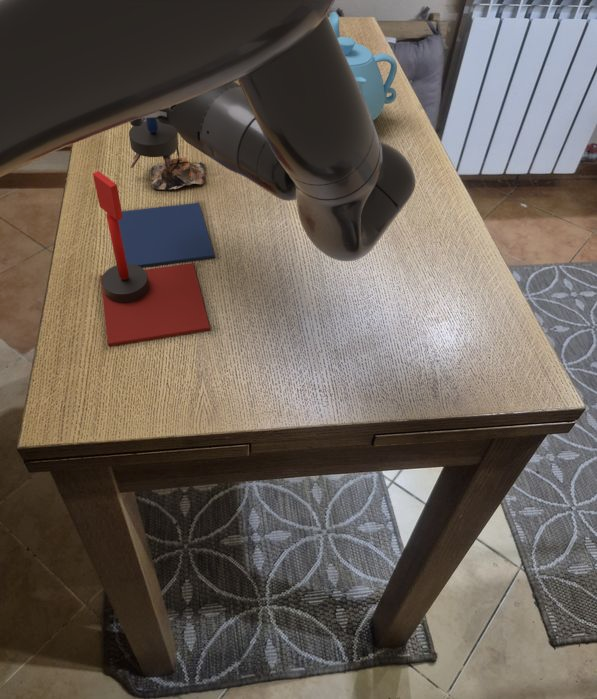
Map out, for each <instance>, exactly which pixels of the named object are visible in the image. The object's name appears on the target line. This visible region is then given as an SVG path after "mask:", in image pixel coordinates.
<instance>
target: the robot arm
mask: <svg viewBox="0 0 597 699" xmlns="http://www.w3.org/2000/svg"><path fill="white" fill-rule="evenodd" d="M335 2H336V0H0V178H2V177H5V176H6V175H8V174H10V173H12V172H15V171H16V170H19V169H21V168H23V167H25V166H27V165H29V164H32V163H34V162H36V161H38V160H40V159H43V158H44V157H47V156H48V155H51V154H53V153H55V152H58V151H60V150H61V149H65V148H66V147H68V146H70V145H73V144H75V143H78V142H81V141H83V140H85V139H86V140H87V139H88V138H91V137H94V136H96V135H99V134H102V133H104V132H106V131H109V130H112V129H114V128H117V127H120V126H123V125H125V124H128V123H130V125H131V126H132V127H133V126H140V125H142V119H146V118H156V119H157V120H158V121H159V122H161V123H163V124H168V125H171V126H173V127H174V128H175V129H176V130H177V132H178V135H179V136H180V137H181V138H182V139H183V141H184V142H186V143H187V144H188V145H190V146H192V147H193V148H195V149H196V150H198V151H199V152H201V153H202V154H204V155H206V156H207V157H208V158H210V159H212V160H213V161H215V162H216V163H218V164H219V165H221V166H222V167H224V168H226V169H228V170H229V171H231V172H233V173H235V174H238V175H239V176H242V177H244V178H246V179H248V180H249V181H251V182H252V183H254V185H257V186H258V187H260V188H261V189H263V190H265V191H266V192H267V193H269V194H270V195H272V196H274V197H275V198H278V199H280V200H282V201H285V202H292V201H296V208H297V209H296V210H297V213H298V218H299V222H300V224H301V226H302V229H303V231H304V233H305V234H306V236H307V238H308V240H309V241H310V242H311V243H312V244H313V245H314V246H315V247H316V249H318V250H319V251H320V252H321V253H323V254H324V255H325V256H326V257H329V258H331V259H333V260H335V261H339V262H355V261H358V260H360V259H362V258H364V257H366V256H368V254H369V253H370V252H372V251H373V249H374V248H375V246H376V245H377V244H378V243H379V241H380V240H381V238H382V237H383V236H384V234H385V233H386V231H387V230H388V229H389V227H390V226H391V225H392V223H393V222H394V221H395V220H396V218H397V217H398V215H399V214H400V213H401V212H402V210H403V209H404V207H405V206H406V204H407V203H408V202H409V201H410V199H411V198H412V196H413V194H414V192H415V188H416V175H415V172H414V168H413V167H412V165H411V163H410V161H409V160H408V158H406V157H405V155H403V154H402V153H401V152H400V151H399V150H398V149H396V148H395V147H393V146H391V145H389V144H387V143H385V142H383V141H381V140H380V138H379V134H378V132H377V128H376V126H375V123H374V120H372V117H371V114H370V111H369V109H368V106H367V104H366V101H365V99H364V96H363V94H362V92H361V90H360V87H359V85H358V83H357V81H356V79H355V76H354V74H353V72H352V70H351V68H350V66H349V63H348V61H347V59H346V57H345V54H344V52H343V50H342V48H341V45H340V43H339V41H338V39H337V36H336V34H335V32H334V30H333V27H332V25H331V23H330V17H329V16H328V13H329V12H330V11H331V9H332V8H333V6H334V4H335ZM236 81H238V83H237V82H236Z"/></svg>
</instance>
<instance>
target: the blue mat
mask: <svg viewBox="0 0 597 699" xmlns="http://www.w3.org/2000/svg"><path fill="white" fill-rule="evenodd" d="M122 215H123V218H122V219H120V220H118V221H119V226H120V231H121V236H122V241H123V247H124V252H125V257H126V262H127V264H134V265H137V266H140V267H141V268H143V269H144V268H149V267H156V266H164V265H173V264H180V263H187V262H188V263H189V262H194V261H195V262H196V261H203V260H209V259H215V252H214V250H213V246H212V242H211V240H210V236H209V233H208V228H207V225H206V222H205V219H204V215H203V211H202V209H201V206H200V203H199V202H195V203H194V202H193V203H185V204H176V205H167V206H166V205H165V206H158V207H149V208H148V207H147V208H140V209H139V208H138V209H132V210H123V211H122Z"/></svg>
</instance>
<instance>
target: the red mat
mask: <svg viewBox="0 0 597 699" xmlns="http://www.w3.org/2000/svg"><path fill="white" fill-rule="evenodd" d="M144 270H145V271H146V273H147V276H148V282H149V289H148V291H147V293H146V294H145V296H143V297H142V298H141V299H139V300H137V301H134V302H130V303H117V302H114V301H112V300H110V299H108V298H107V297H106V295H105V294H104V291H103V286H102V282H101V280H102V276H103V274H102V275H100V276H99V277H100V283H101V284H100V285H101V293H102V295H101V296H102V304H103V314H104V320H105V321H104V322H105V330H106V340H107V346H108V347H113V346H120V345H126V344H132V343H139V342H140V343H141V342H146V341H152V340H158V339H164V338H171V337H177V336H183V335H188V334H195V333H196V334H197V333H203V332H208V331H210V330H211V326H210V322H209V318H208V315H207V311H206V307H205V303H204V298H203V295H202V292H201V288H200V284H199V280H198V276H197V271H196V267H195V264H194V263H193V262H190V263H184V264H175V265H170V266H168V265H167V266H162V267H154V268H146V269H144Z"/></svg>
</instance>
